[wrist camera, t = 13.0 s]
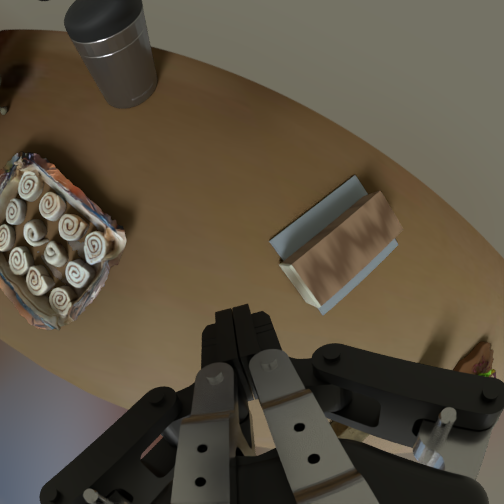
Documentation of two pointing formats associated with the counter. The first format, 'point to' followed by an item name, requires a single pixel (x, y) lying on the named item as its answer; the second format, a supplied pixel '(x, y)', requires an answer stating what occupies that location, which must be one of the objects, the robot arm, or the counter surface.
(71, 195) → the baking tray
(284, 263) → the walnut block
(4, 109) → the tabletop clock
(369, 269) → the mat
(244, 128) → the counter surface
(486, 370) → the plant
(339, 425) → the stone block
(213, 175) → the counter surface
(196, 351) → the counter surface
